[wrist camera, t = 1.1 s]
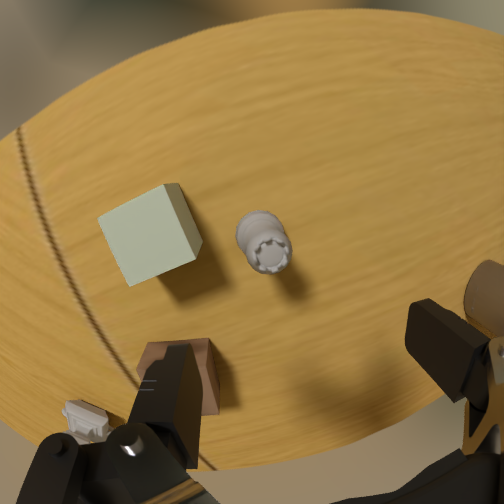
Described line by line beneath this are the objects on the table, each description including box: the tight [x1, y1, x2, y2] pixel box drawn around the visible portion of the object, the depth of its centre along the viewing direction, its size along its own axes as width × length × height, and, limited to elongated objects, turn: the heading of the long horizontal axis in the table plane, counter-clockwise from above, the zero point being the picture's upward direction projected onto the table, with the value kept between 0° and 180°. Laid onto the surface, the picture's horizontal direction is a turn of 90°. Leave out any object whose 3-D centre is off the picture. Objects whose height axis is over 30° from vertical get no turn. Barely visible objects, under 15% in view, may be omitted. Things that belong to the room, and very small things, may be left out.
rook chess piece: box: [236, 210, 293, 275], centre depth 23 cm, size 4×4×8 cm
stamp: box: [62, 400, 115, 445], centre depth 27 cm, size 9×7×8 cm
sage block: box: [97, 183, 203, 287], centre depth 23 cm, size 6×6×6 cm
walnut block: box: [136, 338, 220, 416], centre depth 27 cm, size 7×7×5 cm
